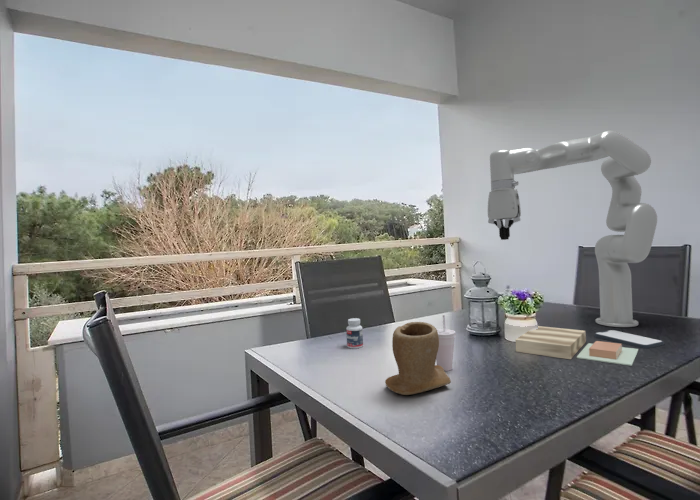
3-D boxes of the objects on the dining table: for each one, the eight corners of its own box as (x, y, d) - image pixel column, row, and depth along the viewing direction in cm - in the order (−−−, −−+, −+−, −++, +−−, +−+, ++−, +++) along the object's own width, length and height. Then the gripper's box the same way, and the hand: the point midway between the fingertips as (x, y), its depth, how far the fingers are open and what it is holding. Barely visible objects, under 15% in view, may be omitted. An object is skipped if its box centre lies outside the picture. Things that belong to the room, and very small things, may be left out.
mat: (588, 344, 116) (588, 343, 115) (638, 350, 108) (638, 348, 108) (576, 358, 103) (576, 356, 103) (631, 365, 96) (631, 364, 96)
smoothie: (443, 374, 96) (440, 318, 96) (427, 367, 102) (424, 314, 102) (462, 369, 99) (460, 315, 99) (445, 363, 105) (443, 311, 105)
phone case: (666, 346, 111) (611, 334, 126) (666, 341, 111) (611, 329, 126) (646, 351, 108) (592, 338, 123) (645, 345, 108) (592, 333, 123)
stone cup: (405, 405, 80) (402, 333, 79) (379, 386, 91) (376, 322, 90) (465, 391, 85) (462, 323, 85) (434, 375, 96) (431, 315, 96)
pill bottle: (344, 348, 125) (343, 320, 124) (350, 344, 129) (349, 317, 129) (360, 349, 123) (358, 321, 122) (365, 344, 127) (364, 318, 127)
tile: (621, 343, 106) (621, 351, 107) (596, 340, 111) (596, 347, 111) (615, 351, 100) (616, 359, 100) (589, 348, 104) (589, 355, 104)
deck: (536, 336, 127) (536, 325, 127) (585, 342, 118) (585, 330, 118) (515, 351, 112) (515, 339, 112) (570, 359, 103) (570, 346, 103)
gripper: (528, 184, 133) (530, 238, 133) (485, 190, 142) (487, 240, 143) (521, 182, 127) (523, 239, 127) (477, 188, 137) (479, 240, 137)
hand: (504, 239), depth 135 cm, fingers closed
